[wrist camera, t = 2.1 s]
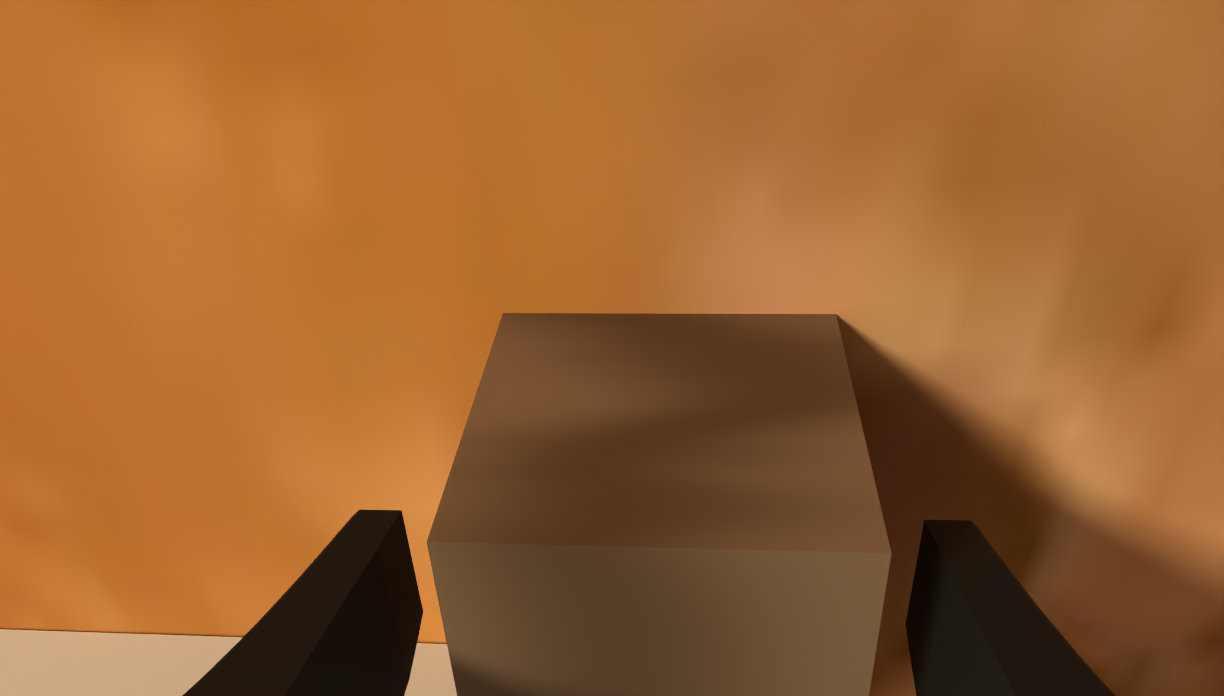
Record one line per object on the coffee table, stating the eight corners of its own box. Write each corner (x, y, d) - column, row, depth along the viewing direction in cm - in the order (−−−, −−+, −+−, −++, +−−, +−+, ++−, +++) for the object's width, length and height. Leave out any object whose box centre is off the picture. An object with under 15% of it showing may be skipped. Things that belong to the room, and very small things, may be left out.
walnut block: (835, 311, 14) (891, 553, 10) (811, 555, 17) (849, 825, 13) (503, 310, 15) (427, 542, 11) (531, 548, 17) (479, 807, 13)
